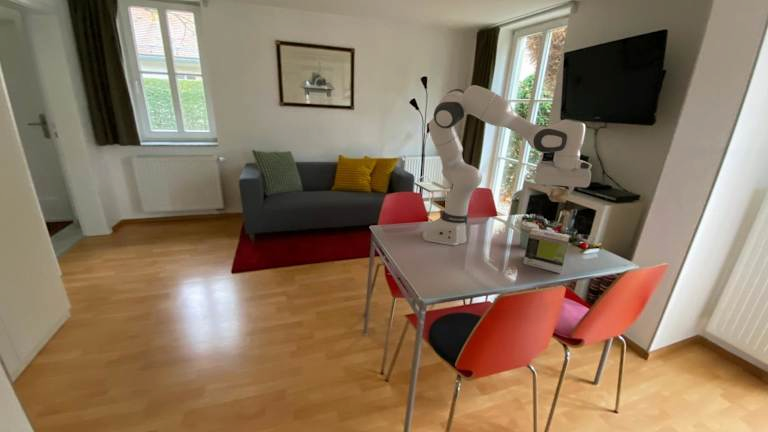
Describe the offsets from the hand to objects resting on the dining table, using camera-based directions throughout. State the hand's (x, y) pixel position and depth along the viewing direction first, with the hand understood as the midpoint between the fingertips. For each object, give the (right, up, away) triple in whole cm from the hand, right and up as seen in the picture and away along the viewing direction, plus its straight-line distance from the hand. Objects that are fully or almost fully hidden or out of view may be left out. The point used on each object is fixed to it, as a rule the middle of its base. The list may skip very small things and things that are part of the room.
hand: (557, 196), depth 130 cm
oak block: (0, -2, +1) cm, 2 cm away
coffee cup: (0, -24, +29) cm, 37 cm away
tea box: (-1, -30, +11) cm, 32 cm away
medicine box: (+11, -24, +29) cm, 39 cm away
